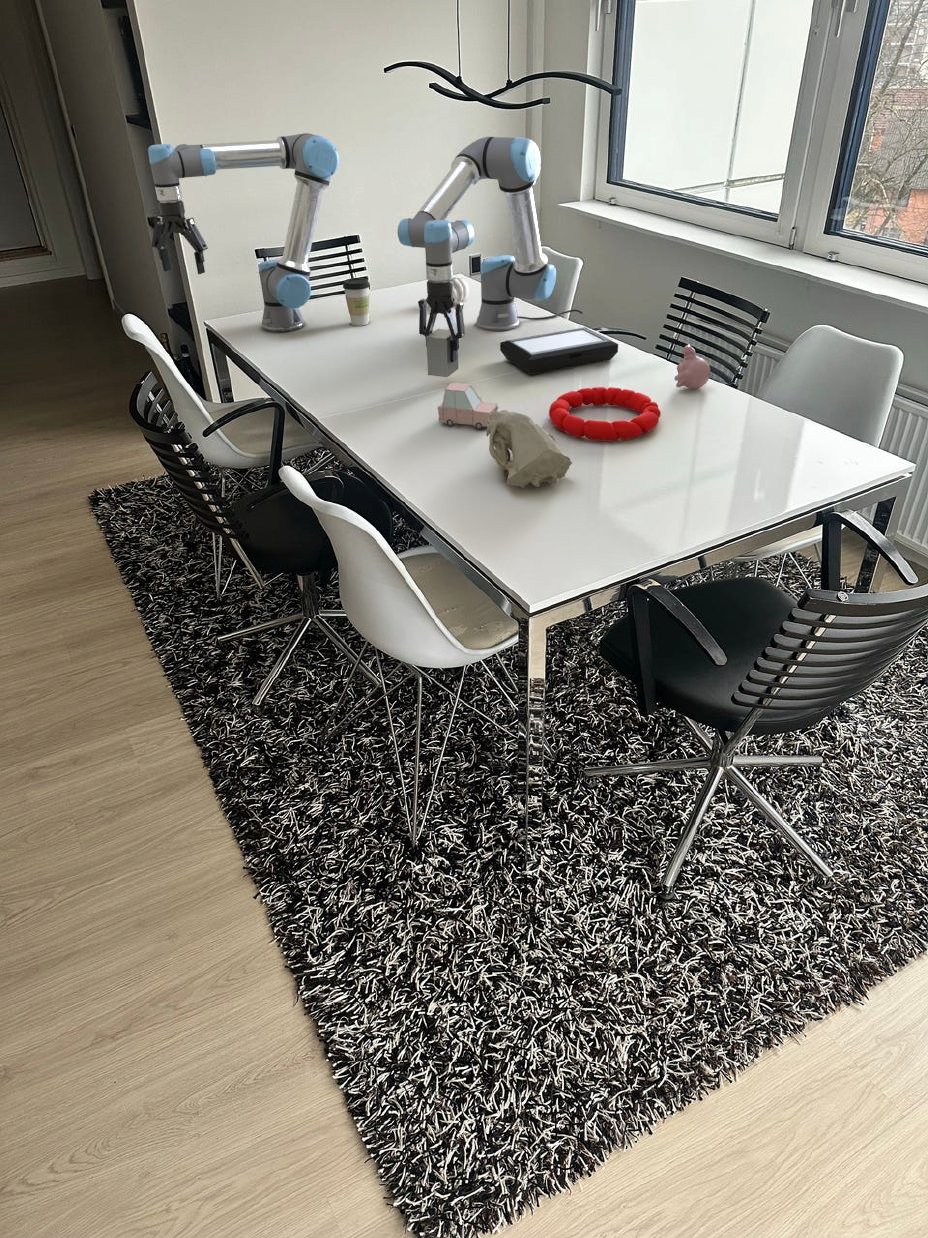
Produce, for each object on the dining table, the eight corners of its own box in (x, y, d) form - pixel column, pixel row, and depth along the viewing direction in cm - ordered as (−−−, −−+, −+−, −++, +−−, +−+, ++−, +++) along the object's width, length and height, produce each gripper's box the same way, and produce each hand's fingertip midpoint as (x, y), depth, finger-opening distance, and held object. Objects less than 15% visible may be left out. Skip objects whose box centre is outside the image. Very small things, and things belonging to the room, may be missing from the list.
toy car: (488, 432, 240) (488, 396, 234) (436, 426, 244) (434, 390, 239) (499, 419, 247) (499, 384, 241) (448, 413, 252) (447, 379, 246)
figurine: (665, 387, 264) (669, 347, 257) (693, 380, 268) (698, 340, 261) (686, 396, 257) (690, 355, 250) (714, 388, 262) (720, 348, 255)
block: (427, 375, 267) (426, 336, 261) (439, 366, 273) (437, 328, 267) (447, 377, 265) (446, 338, 258) (458, 368, 271) (457, 330, 265)
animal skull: (496, 517, 219) (521, 479, 201) (463, 429, 225) (484, 384, 207) (557, 503, 225) (586, 465, 206) (523, 417, 231) (549, 373, 212)
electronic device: (528, 357, 271) (500, 339, 286) (528, 377, 274) (500, 358, 289) (618, 341, 281) (586, 325, 296) (617, 360, 284) (585, 343, 300)
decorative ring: (589, 435, 224) (684, 402, 234) (527, 398, 247) (617, 369, 256) (589, 461, 229) (683, 427, 238) (529, 422, 251) (617, 393, 260)
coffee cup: (372, 326, 323) (368, 283, 314) (345, 327, 323) (340, 284, 315) (374, 318, 331) (371, 276, 322) (348, 319, 331) (344, 277, 323)
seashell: (432, 303, 345) (431, 277, 340) (465, 297, 351) (465, 271, 345) (444, 310, 338) (443, 282, 332) (478, 303, 343) (478, 276, 338)
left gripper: (130, 200, 279) (146, 271, 291) (195, 204, 270) (209, 277, 282) (146, 196, 285) (161, 266, 297) (210, 200, 276) (223, 271, 288)
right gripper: (403, 280, 255) (408, 360, 268) (465, 285, 248) (467, 366, 261) (414, 274, 260) (419, 352, 273) (476, 278, 254) (477, 359, 267)
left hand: (184, 271), depth 290 cm, fingers open, 13 cm apart
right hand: (442, 359), depth 267 cm, fingers closed on block, 6 cm apart
